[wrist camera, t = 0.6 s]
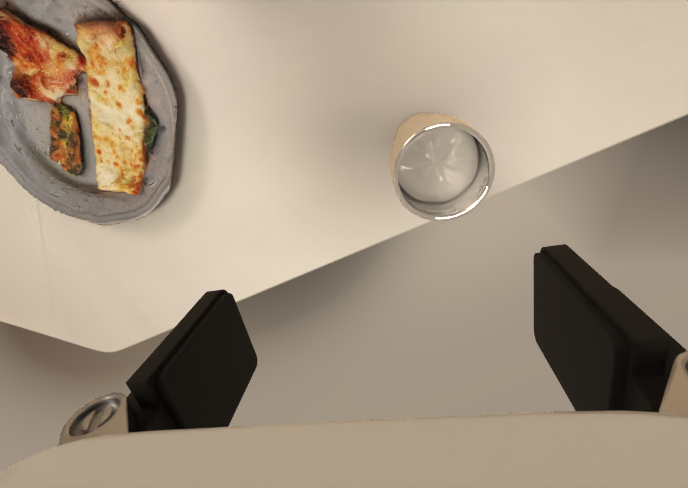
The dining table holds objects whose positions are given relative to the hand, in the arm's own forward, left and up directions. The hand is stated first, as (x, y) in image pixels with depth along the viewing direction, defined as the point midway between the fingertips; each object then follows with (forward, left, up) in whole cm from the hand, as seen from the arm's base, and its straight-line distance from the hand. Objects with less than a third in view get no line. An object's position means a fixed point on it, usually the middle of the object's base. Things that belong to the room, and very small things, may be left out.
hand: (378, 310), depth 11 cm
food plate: (+11, -32, -30) cm, 45 cm away
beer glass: (-3, +3, -30) cm, 30 cm away
